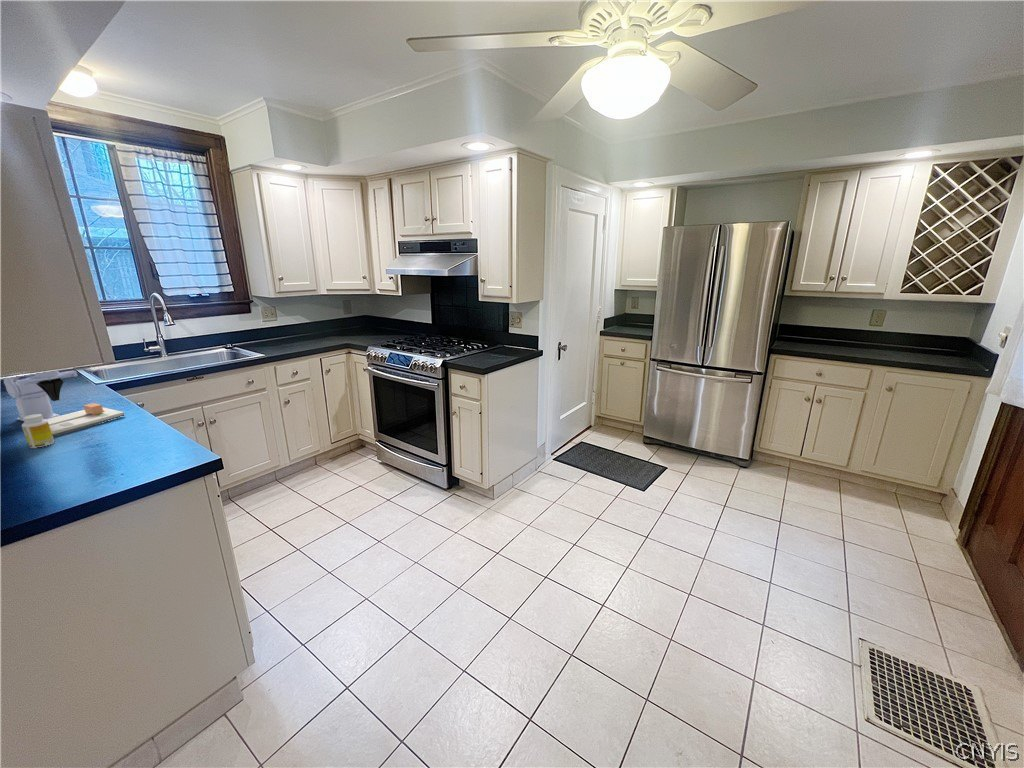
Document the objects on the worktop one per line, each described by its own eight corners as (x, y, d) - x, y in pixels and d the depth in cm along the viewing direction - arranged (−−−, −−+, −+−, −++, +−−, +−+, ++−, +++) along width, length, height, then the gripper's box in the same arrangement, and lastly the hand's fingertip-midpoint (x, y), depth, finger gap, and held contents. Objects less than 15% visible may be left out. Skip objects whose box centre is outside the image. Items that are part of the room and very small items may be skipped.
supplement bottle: (60, 441, 134) (50, 412, 131) (43, 449, 129) (33, 419, 126) (41, 441, 134) (31, 413, 131) (23, 449, 129) (13, 419, 126)
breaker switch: (86, 415, 153) (83, 405, 152) (96, 412, 155) (93, 402, 154) (94, 417, 151) (91, 407, 150) (104, 414, 154) (101, 404, 153)
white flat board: (28, 429, 143) (26, 423, 142) (99, 410, 161) (98, 405, 160) (54, 436, 138) (52, 431, 137) (125, 416, 156) (123, 411, 155)
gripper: (20, 369, 133) (33, 408, 137) (77, 360, 146) (88, 395, 150) (8, 367, 135) (21, 405, 139) (66, 358, 148) (77, 393, 152)
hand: (55, 400), depth 145 cm, fingers closed
